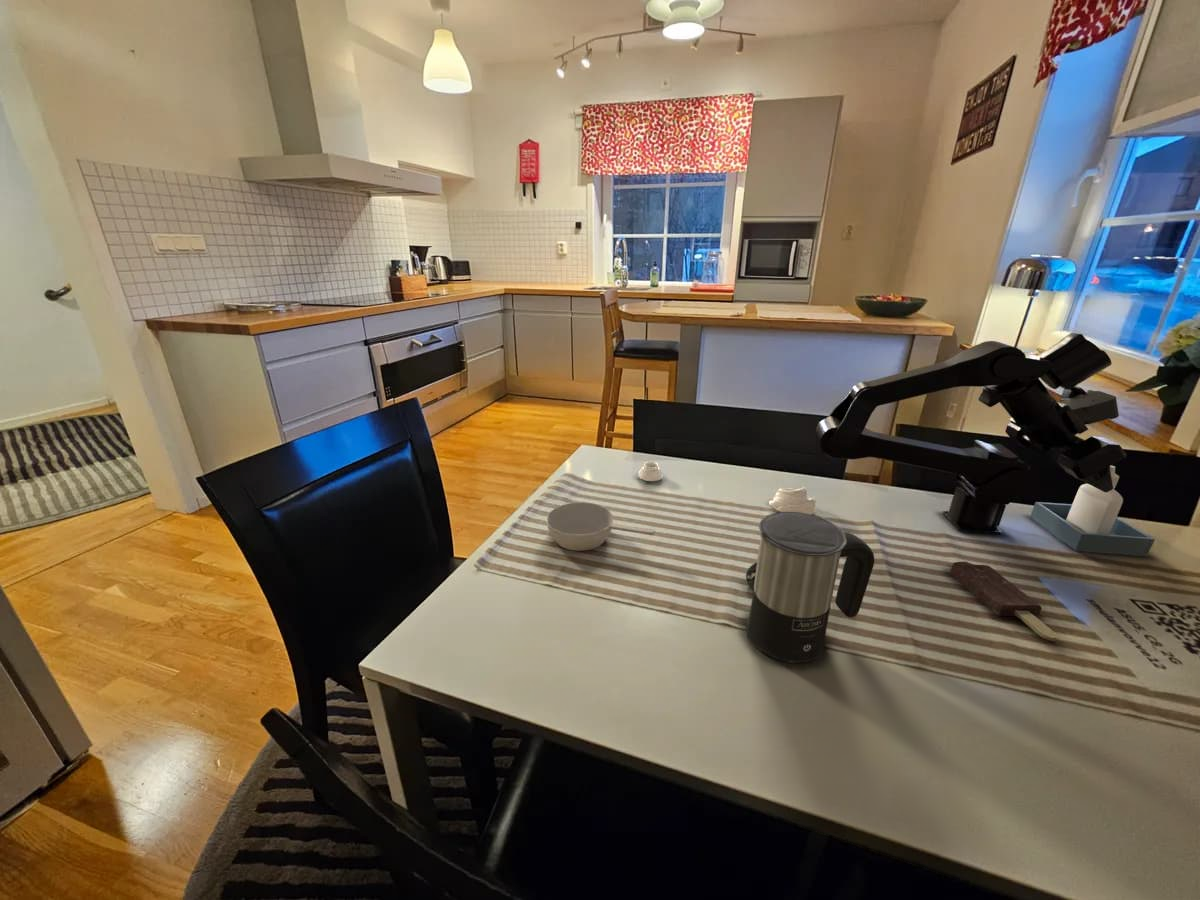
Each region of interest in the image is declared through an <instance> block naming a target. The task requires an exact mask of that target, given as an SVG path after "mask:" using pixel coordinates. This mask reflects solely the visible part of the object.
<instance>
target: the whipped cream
mask: <svg viewBox="0 0 1200 900" xmlns="http://www.w3.org/2000/svg"><path fill="white" fill-rule="evenodd" d="M768 504H769V505H770V506H771V507H773V508H774V509H775V510H777V511H778V512H801V513H805V514H810V515H814V512H815V510H816V507H817V505H816V501H815V498H813V497H808V493H807V489H806V488H805V487H804V486H803V487H800V488H788V487H780V488H779V489H778V490H777V491H776V493H775V495H774V497H772V500H769V501H768Z"/></svg>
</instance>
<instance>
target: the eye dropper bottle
mask: <svg viewBox="0 0 1200 900" xmlns="http://www.w3.org/2000/svg"><path fill="white" fill-rule="evenodd" d="M1110 472H1111V478H1112V484H1113V489H1112V490H1111V491H1109V492H1106V493H1105V492H1103V491H1101V490H1099V489H1097V488H1095V487H1093V486H1091V485H1089V484H1087V483H1083V484H1081V485H1080V486H1079V487H1078V490H1077V492H1076V495H1075V496H1074V499H1073V502H1072V503H1071V504H1072V506H1071V509H1070V511H1069V514H1068V516H1067V519H1066V521H1067V522H1068V523H1070V524H1071V525H1073V526H1074V527H1076V528H1077V529H1079V530H1080V531H1082V532H1083V533H1094V534H1107V535H1109V533H1110V531H1111V529H1112V526H1113V524H1114V522H1115V519H1116V517H1118V514H1119V513H1120V510H1121V508H1122V505H1123V503H1124V498H1123V496H1122V495H1121V494H1120V493H1119V492H1118V491H1117V490H1115V488H1116V487H1117V484H1118V482H1119V479H1120V475H1118V474H1116V466H1115V465H1111V466H1110Z"/></svg>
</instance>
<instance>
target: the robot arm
mask: <svg viewBox="0 0 1200 900" xmlns="http://www.w3.org/2000/svg"><path fill="white" fill-rule="evenodd" d="M1112 364H1113V363H1112V360H1111V358H1110V356H1109V355H1108V353H1107V351H1105V350H1103V349H1100V347H1098V346H1097V345H1096V344H1095V343H1093V342H1092V341H1091V340H1089V339H1087V338H1086V337H1085V336H1084V334H1083V333H1079V332H1073V331H1072V332H1070V333H1068V334H1067V335H1066V336H1064V337H1063V338H1061V339H1060V341H1057V343H1055V344H1053V345H1052V346H1050V347H1049V348H1047V349H1045V350H1044V351H1042V352H1041V353H1039V354H1037V355H1036V354H1033V353H1031V352H1027V351H1022V349H1020V348H1018V347H1016V346H1013V345H1009V344H1006V343H1003V342H1001V341H997V340H987V341H983V342H980V343H978V344H975V345H973V346H971V347H968V348H966V349H964V350H961V351H960V352H958V353H957V354H955V355H953V356H952V357H950V358H948V359H945V360H943V361H942V362H937V363H934V364H929V365H926V366H922V367H918V368H915V369H911V370H907V371H903V372H899V373H894V374H892V375H887V376H884V377H880V378H877V379H872V380H869V381H860V382H857V383H855V385H853V386H852V388H851V389H850V390H849V392H848V393H847V394H846V396H845V397H844V398H843V399H842V400H841V401H840V402H839V403H838V404H837V405H836V406H835V407H833V409H832V410H831V412H830V414H829V415H828V416H827V417H826V418H824V419H822V420H821V421H819V422H818V424H817V425H816V427H815V432H814V435H815V438H816V440H817V443H818V446H819V448H820V449H821V451H822V453H823V454H824V455H825V456H826V457H828V458H830V459H835V460H853V461H854V460H861V459H867V458H873V459H879V460H883V461H887V462H893V463H898V464H904V465H908V466H913V467H919V468H922V469H928V470H933V471H936V472H937V471H938V472H942V473H947V474H952V475H954V477H955V478H954V479H955V481H956V482H957V483H959V485H960V486H956V487H955V489H954V493H953V496H952V499H951V503H950V505H949V509H948V510H943V511H942V513H941V514H942V516H943V517H945V519H946V520H948V521H949V522H950V523H951V524H952V525H953V526H954V527H955V529H957V530H958V531H960V532H965V533H966V532H967V533H976V534H977V533H979V534H993V535H1002V532H1003V531H1002V530H1001V529H1000V528H999V526H1000V525H1001V521H1002V519H1003V516H1004V514H1005V513H1004V512H1005V510H1006V507H1007V505H1010V503H1011V502H1012V501H1013V500H1014V499H1015V498H1016V497H1017V495H1018V494H1019V493H1020V492H1021V491H1023V490H1024V489H1025V488H1027V487H1028V486H1029V484H1030V483H1031V482H1032V480H1033V479H1032V478H1033V471H1032V468H1031V467H1030V466H1029V465H1028V464H1027V463H1025V462H1024V461H1022V460H1021V459H1020V457H1019V456H1018V455H1017V454H1015V453H1014V452H1012V450H1009V448H1008V447H1007V448H1006V447H1005V446H1004V445H1002V444H1001V443H987V442H984V441H981V440H979V439H974V442H973V444H972V445H973V446H972V447H971V446H970V447H965V448H958V447H955V446H948V445H943V444H938V443H933V442H929V441H928V442H927V441H922V440H918V439H912V438H906V437H902V436H896V435H891V434H888V433H887V434H886V433H882V432H881V433H880V432H876V431H873V430H871V429H869V428H866V426H867V424H868V422H869V420H870V419H871V416H872V414H873V412H874V411H875V410H876V409H877V408H878V407H879V406H883V405H887V404H888V405H889V404H893V403H896V402H900V401H905V400H908V399H912V398H917V397H921V396H924V395H929V394H932V393H936V392H940V391H945V390H948V389H953V388H961V387H974V388H975V387H977V388H978V387H979V388H980V387H982V392H981V393H980V395H979V397H978V402H980V403H982V404H983V405H985V406H987V407H988V408H993V407H995V406H996V405H997V404H999V403H1000V405H1001V406H1002V407H1003V408H1004V410H1005V411H1006V412H1007V414H1008V415H1009V416H1010V418H1009V421H1010V422H1009V423H1008V424H1006V428H1005V430H1004V431H1005V434H1006V435H1007V436H1008V437H1009V439H1010V440H1012V441H1014V442H1015V443H1017V444H1018V445H1020V446H1021V447H1022V448H1025V449H1026V450H1029V451H1030V452H1032V453H1034V454H1035V455H1038V456H1040V457H1042V458H1043V459H1046V460H1047V461H1049V462H1051V463H1053V464H1054V465H1056V466H1058V467H1060V468H1062V469H1063V470H1064V472H1065V473H1066V474H1068V475H1070V476H1072V477H1073V478H1075V479H1077V480H1079V481H1082V482H1083V483H1084V484H1089V485H1091V486H1093V487H1095V488H1097V489H1099V490H1101V491H1103V492H1105V493H1106V492H1109V491H1111V490H1112V489H1114V488H1113V484H1112V478H1111V472H1110V466H1114V464H1117V463H1118V462H1120V461H1122V460H1124V459H1125V458H1126V457H1127V453H1126V452H1125V450H1124V449H1123V448H1122V446H1121V445H1120V444H1119V443H1116V442H1114V441H1112V440H1110V439H1108V438H1105V437H1103V436H1094V435H1093V436H1092V435H1091V436H1090V437H1089V436H1088V438H1086V439H1084V438H1081V437H1079V436H1077V434H1078V435H1082V434H1084V433H1085V432H1087V431H1089V428H1088V426H1087V425H1092V424H1095V423H1100V422H1102V421H1106V420H1114V419H1117V418H1119V417H1120V414H1119V407H1118V402H1117V397H1116V395H1113V394H1109V393H1107V392H1103V391H1101V390H1092V389H1088V390H1087V391H1086V390H1084V389H1083V388H1082V387H1080V386H1078V385H1079V384H1082V383H1083V382H1084V381H1087V380H1088V379H1090V378H1091V377H1093V376H1095V375H1097V374H1099V373H1101V372H1102V371H1104V370H1105V369H1107V368H1108V367H1110V366H1112ZM1044 384H1046V385H1047V387H1049V388H1051V389H1053V390H1057V389H1058V388H1062V389H1063V390H1062V393H1061V395H1060V397H1059V401H1057V400H1056V398H1054V396H1053V395H1052V393H1051V392H1050V391H1049V390H1048V388H1047V387H1046V386H1045V385H1044Z"/></svg>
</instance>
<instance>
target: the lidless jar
mask: <svg viewBox="0 0 1200 900" xmlns="http://www.w3.org/2000/svg"><path fill="white" fill-rule="evenodd" d="M663 477H664V476H663V472H662V469H661V468H660V466H659V463H657V462H654V461H646V462H645V463H643V466H641V468H640V470H639V471H638V478H640V479H641V480H643V481H646V482H656V481H660V480H662V479H663Z"/></svg>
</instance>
